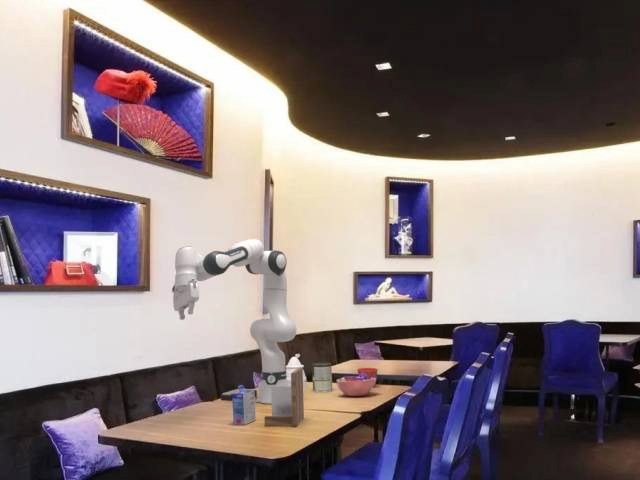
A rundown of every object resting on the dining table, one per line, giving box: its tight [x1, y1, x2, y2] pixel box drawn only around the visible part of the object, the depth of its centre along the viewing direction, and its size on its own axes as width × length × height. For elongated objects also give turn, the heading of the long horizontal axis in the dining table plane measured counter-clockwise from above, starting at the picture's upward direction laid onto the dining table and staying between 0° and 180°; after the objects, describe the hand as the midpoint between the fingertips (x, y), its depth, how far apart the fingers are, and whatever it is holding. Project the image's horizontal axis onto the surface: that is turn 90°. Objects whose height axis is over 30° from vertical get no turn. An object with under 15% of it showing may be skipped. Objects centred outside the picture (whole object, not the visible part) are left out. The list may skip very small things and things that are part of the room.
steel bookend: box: [271, 386, 292, 416], centre depth 248 cm, size 4×11×13 cm, turn 82°
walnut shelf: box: [264, 367, 305, 428], centre depth 240 cm, size 18×12×20 cm
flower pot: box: [357, 367, 378, 389], centre depth 326 cm, size 11×11×10 cm
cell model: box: [336, 372, 377, 397], centre depth 299 cm, size 17×20×11 cm
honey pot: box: [285, 353, 308, 389], centre depth 332 cm, size 13×13×18 cm
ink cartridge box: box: [231, 384, 257, 426], centre depth 242 cm, size 10×6×14 cm, turn 159°
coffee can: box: [311, 362, 333, 393], centre depth 317 cm, size 10×10×14 cm
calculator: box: [220, 388, 258, 402], centre depth 301 cm, size 11×4×15 cm
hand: (186, 316), depth 247 cm, fingers open, 8 cm apart
